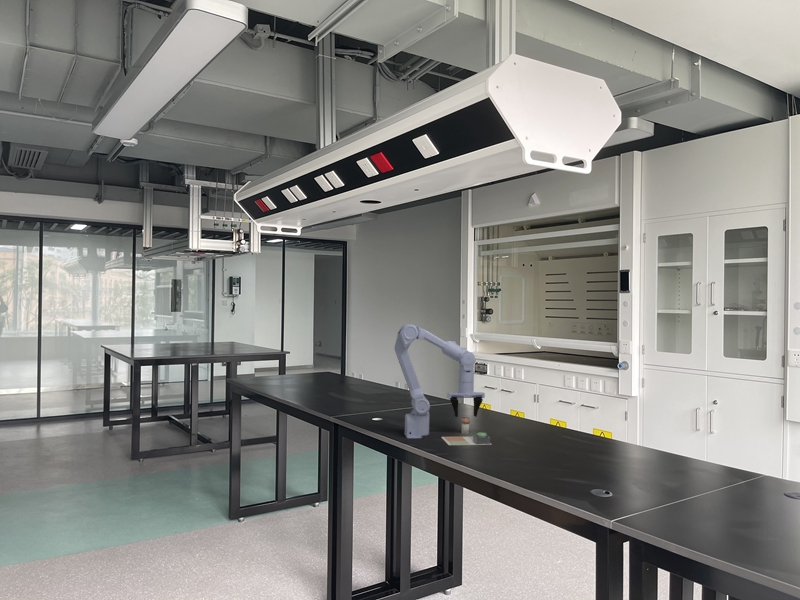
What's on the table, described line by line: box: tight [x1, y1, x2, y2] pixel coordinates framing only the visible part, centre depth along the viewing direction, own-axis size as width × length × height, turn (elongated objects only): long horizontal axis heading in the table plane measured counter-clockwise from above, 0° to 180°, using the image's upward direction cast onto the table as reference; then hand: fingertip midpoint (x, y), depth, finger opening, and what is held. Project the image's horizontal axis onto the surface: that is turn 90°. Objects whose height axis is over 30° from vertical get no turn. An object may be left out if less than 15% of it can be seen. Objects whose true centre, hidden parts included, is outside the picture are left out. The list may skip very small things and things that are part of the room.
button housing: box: [472, 434, 491, 444], centre depth 210 cm, size 5×5×2 cm
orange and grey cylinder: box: [460, 417, 471, 435], centre depth 225 cm, size 3×3×7 cm
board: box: [441, 436, 493, 446], centre depth 213 cm, size 16×13×1 cm
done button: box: [476, 431, 487, 437], centre depth 210 cm, size 3×3×2 cm
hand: (465, 416), depth 225 cm, fingers open, 7 cm apart
